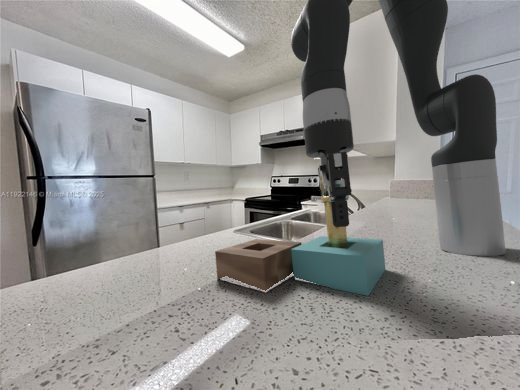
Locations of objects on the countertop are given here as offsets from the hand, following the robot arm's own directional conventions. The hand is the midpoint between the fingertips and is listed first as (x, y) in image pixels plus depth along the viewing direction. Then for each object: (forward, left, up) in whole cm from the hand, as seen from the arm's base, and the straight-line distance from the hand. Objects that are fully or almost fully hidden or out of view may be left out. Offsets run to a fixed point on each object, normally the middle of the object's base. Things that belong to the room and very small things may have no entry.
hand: (336, 222), depth 35 cm
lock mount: (+6, -12, -9) cm, 16 cm away
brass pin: (0, 0, -9) cm, 9 cm away
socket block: (0, 0, -9) cm, 9 cm away
